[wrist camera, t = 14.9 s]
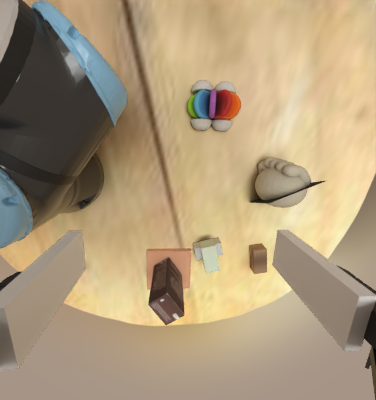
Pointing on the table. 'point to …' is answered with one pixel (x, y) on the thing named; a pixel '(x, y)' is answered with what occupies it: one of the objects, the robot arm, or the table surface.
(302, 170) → the decorative object
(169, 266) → the box
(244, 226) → the table surface
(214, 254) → the pale green brick
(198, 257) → the grey brick
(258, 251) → the walnut brick
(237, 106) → the rainbow disc rolling toy
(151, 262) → the tile
